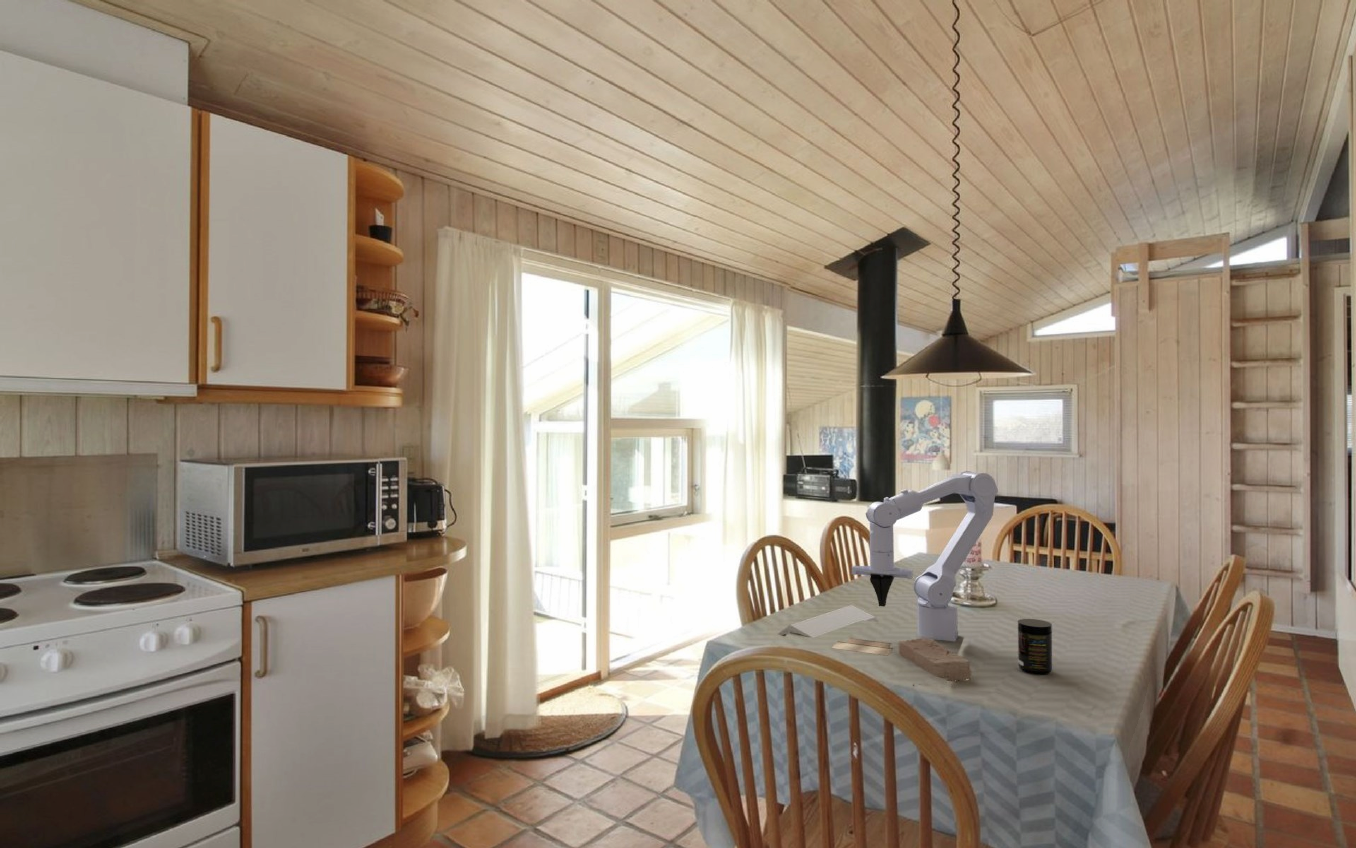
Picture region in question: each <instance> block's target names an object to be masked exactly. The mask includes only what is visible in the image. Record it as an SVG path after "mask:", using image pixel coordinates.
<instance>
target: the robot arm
mask: <svg viewBox="0 0 1356 848" xmlns="http://www.w3.org/2000/svg"><path fill="white" fill-rule="evenodd" d="M998 493H999V489H998V486H997V484H996V481H995V479H994V478H993V476H991V475H990V473H989V474H988V473H987V472H986V473H985V472H973V471H968V470H965V471H961V472H960V473H956V474H955V473H954V474H952V475H950V476H948V477H946V478H944V479H942V480H939V481H938V482H935V483H934V484H932V485H929V486H927V487H924V488H923V489H921V490H919V491H916V490H914V489H906V488H904V489H901V490H900V493H898V494H896V495H893V496H891V497H890V498H889V497H888V496H886V497H884V498H883V502H882V501H874V502H872V503H871V504H870V505H869V506H868V508H867V510H866V512H865V517H866V519H867V521H868V522H869V562H870V563H869V565H853V566H851V575H854V576H856V575H861V576H870V578H869V581H870V583H871V585H872V587H873V590H874V592H875V595H876V597H877V602H878V607H883V608H884V607H886V605H887V600H888V599H887V598H888V594H889V591H890V588H891V586H892V584H893V581H894V580H895V578H901V579H907V580H912V579H913V578H914V569H907V568H899V567H898V568H897V567H895V562H894V561H895V554H894V553H895V549H894V546H895V545H894V544H895V543H894V525H895V523H896V522H897V521H899V520H900V519H903V518H906V517H909V516H910V515H913V514H916V513H918V512H920V511H921V510H922V508H923V506H924V505H925V504H926V503H930V502H933V501H935V500H937V499H940V498H944V497H946V496H949V495H952V494H959V496H960V497H961V499H962V500H963V501H964V503H965V505H966V506H965V507H966V509H967V513H966V515H965V516H964V517H963V519H962V520H961V522H960V524H959V525H958V527H957V528H956V530H955V531H954V533H953V534H952V536H951V538H950V540H949V541H948V543H947V544H946V546H945V547H944V549H943V551H942V552H941V553H940V555H939V556H938V558H937V560H936V561H935V563H934V564H931V565H929V566H928V567H927V568H926V569H925V571H924V572H923V573H922V574H920V575H918V576H917V577H916V579H915V580H914V582H913V585H912V586H913V591H914V593H915V595H916V596H917V597H918V598H917V636H919V637H920V638H923V639H924V638H927V639H932V640H934V641H936V640H937V641H947V642H956V641H957V638H958V637H959V629H958V628H959V627H958V623H959V622H958V620H959V619H958V607H956V606H951V605H949V603H950V602H951V601H952V598H953V592H954V589H955V587H956V586H957V579H956V575H957V573H958V571H959V570H960V568H961V567H962V566H963V563H965V560H966V559H967V557H968V556H969V554H970V553H971V551H972V550H973V548H974V546H975V544H976V543H977V542H978V540H979V538H980V537H981V535H982V534H983V532H984V530H985V528H987V526H988V525H989V522H990V520H991V519H992V517H993V516H994V506H995V501H996V500H995V498H996V496H997V494H998Z"/></svg>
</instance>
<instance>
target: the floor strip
mask: <svg viewBox="0 0 1356 848" xmlns="http://www.w3.org/2000/svg"><path fill="white" fill-rule="evenodd" d="M831 649H837V650H842V651H851V652H857V653H858V652H859V653H864V654H865V653H866V654H873V655H880V656H889V655H890V653H891V652H892V651H893V649H894V648H893V647H891V646H889V647H883V646H875V645H867V644H860V643H852V642H847V641H842V640H837V641H836V643H835V644H833V646H832V647H831Z"/></svg>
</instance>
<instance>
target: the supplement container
mask: <svg viewBox="0 0 1356 848" xmlns="http://www.w3.org/2000/svg"><path fill="white" fill-rule="evenodd" d="M1017 649H1018V650H1017V657H1018V658H1017V664H1018V668H1019V669H1020V670H1021V671H1022V672H1024V673H1027V674H1031V675H1036V676H1046V675H1049V674H1051V673H1052V671H1053V623H1051V622H1050V621H1046V620H1042V619H1038V618H1021V619H1018V620H1017Z"/></svg>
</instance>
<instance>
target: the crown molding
mask: <svg viewBox="0 0 1356 848" xmlns="http://www.w3.org/2000/svg"><path fill="white" fill-rule="evenodd" d="M861 621H866V622H867V621H869V622H876V623H877V622H878V621H879V620H877V617H876V616H874V615H872V614H870V613H868V612H866V611H864V610H862V609H861V608H858V607H856V606H854V605H852V604H850V605H847V606H844V607H841V608H838V609H835V610H832V611H829V612H825V613H823V614H819V615H817V616H813V617H810V618H808V619H804V620H800V621H798V622H794V623H792V624H789V625H788V626H787V627H785V628H784V629H782V630H781V631H779V632H778V633H777V634H778V635H781V636H787V635H788V634H790V633H791V634H798V635H801V636H805V637H808V638H812V639H813V638H817V637H819V636H821V635H824V634H827V633H830V632H833V631H836V630H838V629H841V628H844V627H847V626H849V625H852V624H855V623H857V622H861Z"/></svg>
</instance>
